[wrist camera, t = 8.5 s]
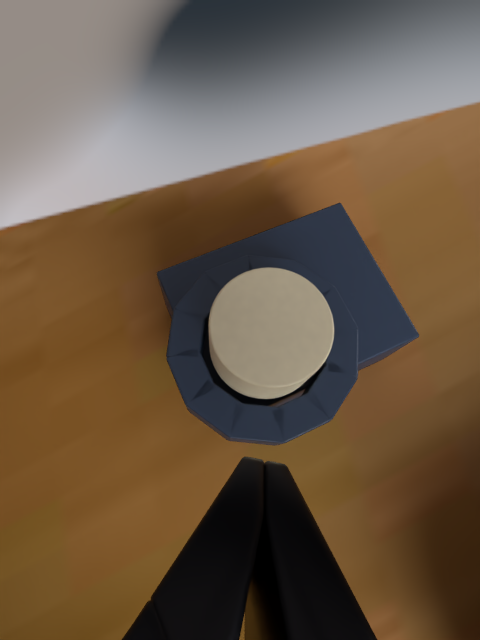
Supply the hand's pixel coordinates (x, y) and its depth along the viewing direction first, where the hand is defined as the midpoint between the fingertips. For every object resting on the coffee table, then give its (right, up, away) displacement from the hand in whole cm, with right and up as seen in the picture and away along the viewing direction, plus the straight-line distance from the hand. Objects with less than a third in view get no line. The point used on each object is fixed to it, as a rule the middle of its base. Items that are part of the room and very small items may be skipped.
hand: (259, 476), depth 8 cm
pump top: (+1, +2, +8) cm, 8 cm away
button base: (+1, +2, +14) cm, 14 cm away
